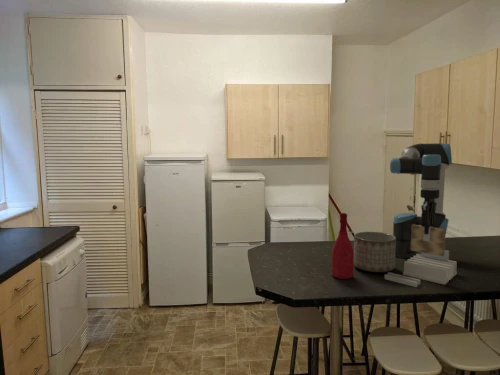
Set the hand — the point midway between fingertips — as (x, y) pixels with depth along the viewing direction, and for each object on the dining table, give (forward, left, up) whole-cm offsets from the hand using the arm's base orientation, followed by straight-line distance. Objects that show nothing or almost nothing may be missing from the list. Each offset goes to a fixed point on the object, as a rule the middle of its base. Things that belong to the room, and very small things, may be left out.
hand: (427, 240), depth 161 cm
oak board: (0, 0, -6) cm, 6 cm away
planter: (-23, -4, -18) cm, 29 cm away
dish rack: (0, +6, -18) cm, 19 cm away
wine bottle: (-29, -24, -18) cm, 42 cm away
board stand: (-6, -12, -18) cm, 22 cm away
